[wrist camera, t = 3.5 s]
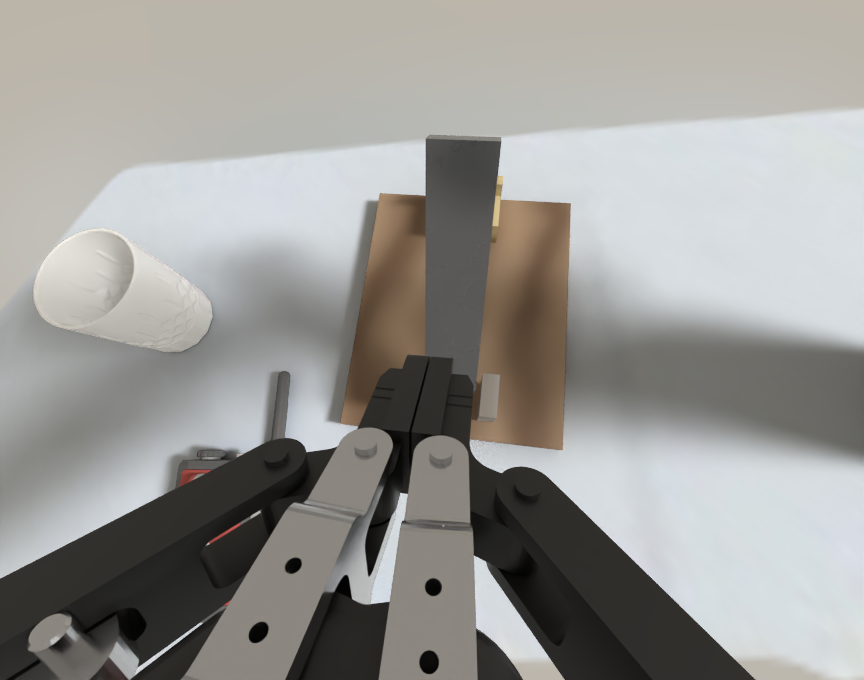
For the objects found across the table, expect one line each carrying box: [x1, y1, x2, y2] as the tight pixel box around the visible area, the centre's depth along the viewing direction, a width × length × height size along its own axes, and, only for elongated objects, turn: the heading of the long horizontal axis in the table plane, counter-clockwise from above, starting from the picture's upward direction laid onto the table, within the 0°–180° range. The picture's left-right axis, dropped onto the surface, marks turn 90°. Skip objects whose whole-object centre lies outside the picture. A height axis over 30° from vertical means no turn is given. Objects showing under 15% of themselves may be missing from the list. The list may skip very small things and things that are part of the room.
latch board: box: [340, 176, 571, 450], centre depth 33 cm, size 18×22×6 cm
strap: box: [425, 135, 501, 392], centre depth 24 cm, size 4×18×2 cm
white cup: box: [33, 228, 213, 352], centre depth 33 cm, size 8×8×10 cm
